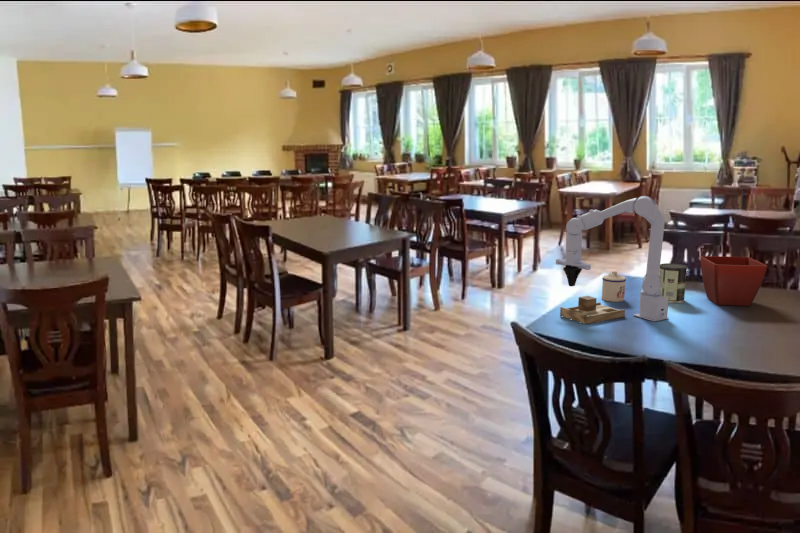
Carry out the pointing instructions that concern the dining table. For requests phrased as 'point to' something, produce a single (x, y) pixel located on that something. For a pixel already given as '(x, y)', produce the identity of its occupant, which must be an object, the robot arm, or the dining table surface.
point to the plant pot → (731, 279)
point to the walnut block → (587, 303)
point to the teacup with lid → (613, 287)
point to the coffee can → (673, 281)
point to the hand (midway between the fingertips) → (571, 285)
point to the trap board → (592, 314)
